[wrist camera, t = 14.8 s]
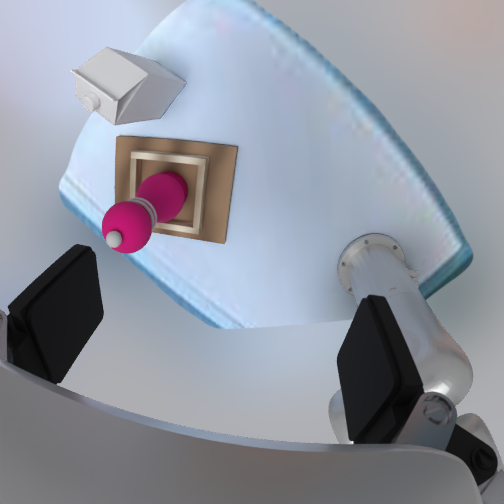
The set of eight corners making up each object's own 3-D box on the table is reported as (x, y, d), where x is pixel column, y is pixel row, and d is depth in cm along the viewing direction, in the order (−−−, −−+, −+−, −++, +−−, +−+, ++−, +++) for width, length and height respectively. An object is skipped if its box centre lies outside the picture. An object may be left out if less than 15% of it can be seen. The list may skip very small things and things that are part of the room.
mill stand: (237, 146, 44) (235, 149, 41) (225, 241, 51) (222, 249, 48) (119, 135, 44) (109, 138, 41) (118, 223, 51) (110, 231, 48)
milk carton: (154, 60, 38) (87, 41, 21) (187, 83, 40) (132, 70, 23) (128, 96, 41) (55, 98, 24) (160, 119, 43) (96, 129, 26)
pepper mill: (191, 212, 48) (144, 276, 30) (150, 210, 48) (88, 269, 31) (191, 168, 45) (137, 211, 27) (148, 167, 45) (77, 208, 27)
